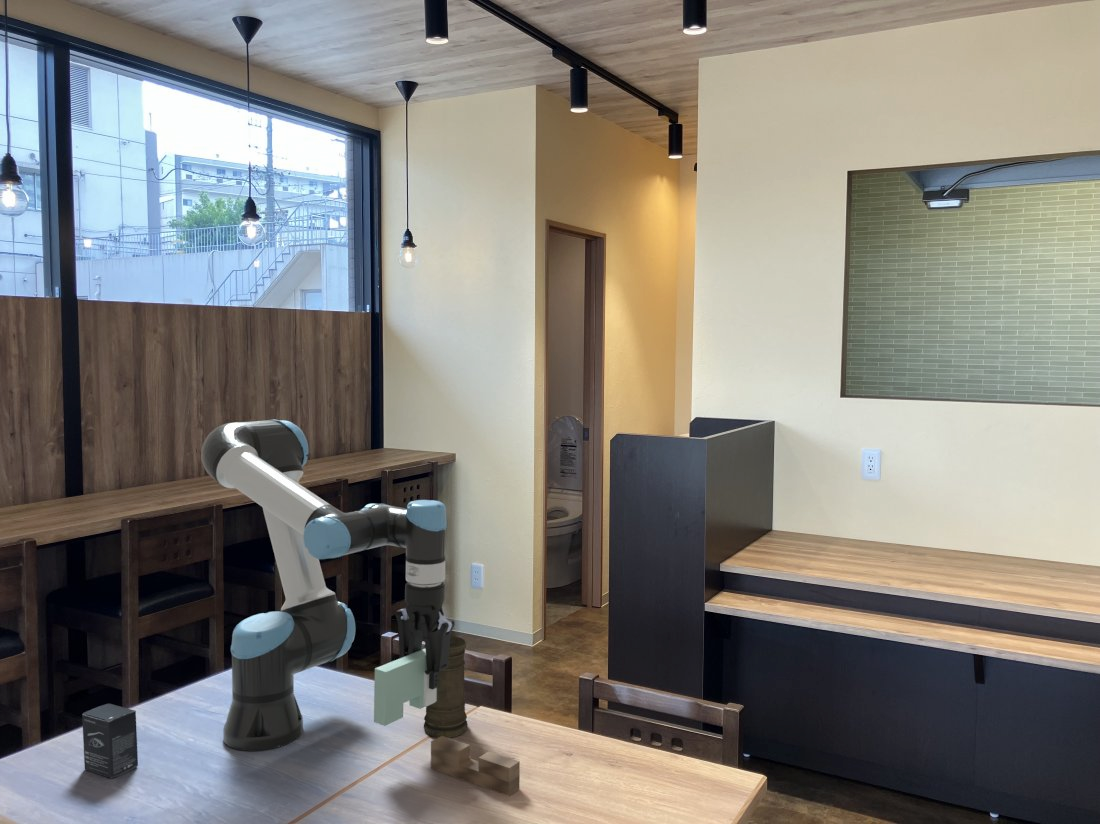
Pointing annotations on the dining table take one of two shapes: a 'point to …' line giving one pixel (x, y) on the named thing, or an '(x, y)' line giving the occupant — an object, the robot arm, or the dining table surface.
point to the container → (449, 696)
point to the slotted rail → (475, 766)
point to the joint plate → (399, 687)
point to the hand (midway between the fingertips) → (422, 701)
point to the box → (110, 740)
